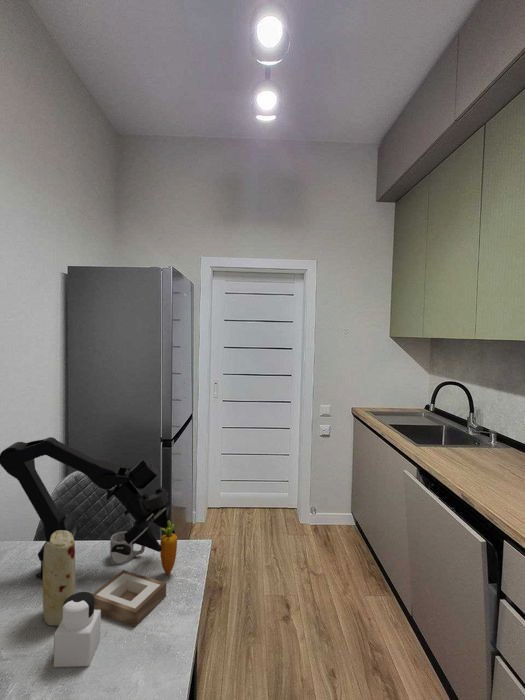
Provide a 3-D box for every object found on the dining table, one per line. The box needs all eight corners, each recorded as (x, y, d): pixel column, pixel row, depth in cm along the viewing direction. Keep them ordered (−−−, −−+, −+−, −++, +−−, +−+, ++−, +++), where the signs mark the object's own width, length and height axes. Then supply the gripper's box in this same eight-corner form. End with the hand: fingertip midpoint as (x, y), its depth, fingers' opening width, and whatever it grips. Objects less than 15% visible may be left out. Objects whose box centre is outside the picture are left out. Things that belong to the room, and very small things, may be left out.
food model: (79, 622, 92) (81, 538, 92) (48, 636, 88) (50, 548, 87) (68, 600, 99) (69, 522, 99) (38, 612, 95) (39, 530, 94)
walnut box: (89, 609, 96) (89, 596, 96) (123, 582, 108) (123, 569, 108) (135, 627, 91) (135, 612, 91) (165, 596, 103) (166, 583, 102)
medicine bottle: (67, 641, 87) (68, 587, 86) (100, 640, 87) (101, 587, 87) (52, 668, 79) (53, 610, 79) (89, 667, 80) (90, 609, 80)
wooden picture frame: (95, 606, 97) (95, 595, 97) (123, 583, 106) (123, 573, 106) (134, 621, 93) (135, 608, 93) (160, 596, 102) (160, 584, 102)
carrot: (172, 581, 109) (173, 528, 108) (155, 578, 110) (157, 525, 109) (179, 571, 114) (181, 520, 113) (163, 568, 115) (165, 517, 114)
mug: (108, 565, 115) (108, 543, 115) (111, 553, 122) (112, 532, 121) (143, 562, 117) (144, 540, 117) (145, 550, 124) (145, 529, 124)
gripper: (135, 495, 103) (174, 541, 101) (164, 471, 121) (198, 510, 120) (107, 521, 104) (145, 567, 103) (140, 494, 123) (172, 532, 121)
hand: (167, 542), depth 112 cm, fingers open, 9 cm apart
